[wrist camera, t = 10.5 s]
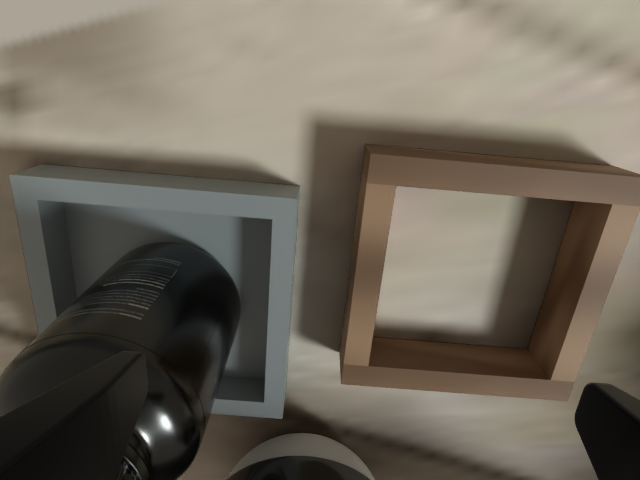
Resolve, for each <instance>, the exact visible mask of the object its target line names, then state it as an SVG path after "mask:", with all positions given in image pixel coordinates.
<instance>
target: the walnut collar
mask: <svg viewBox="0 0 640 480" xmlns="http://www.w3.org/2000/svg"><path fill="white" fill-rule="evenodd" d="M396 186H405V187H417V188H428V189H440V190H452V191H463V192H475V193H487V194H498V195H510V196H522V197H533V198H545V199H557V200H568V201H575V202H574V205H573V209H572V212H571V215H570V218H569V221H568V224H567V227H566V231H565V234H564V237H563V240H562V243H561V246H560V249H559V253H558V256H557V259H556V262H555V265H554V268H553V272H552V275H551V278H550V281H549V284H548V287H547V290H546V294H545V297H544V300H543V303H542V306H541V309H540V313H539V316H538V319H537V322H536V325H535V328H534V331H533V335H532V338H531V341H530V344H529V347H528V349H519V348H506V347H493V346H480V345H468V344H455V343H442V342H429V341H416V340H403V339H391V338H378V337H373V332H374V326H375V319H376V313H377V306H378V300H379V293H380V287H381V280H382V274H383V267H384V261H385V254H386V248H387V242H388V235H389V229H390V222H391V216H392V209H393V203H394V196H395V190H396ZM639 211H640V174H637V173H634V172H631V171H628V170H624V169H621V168H618V167H615V166H610V165H599V164H587V163H576V162H564V161H553V160H542V159H530V158H519V157H507V156H496V155H485V154H473V153H462V152H450V151H439V150H428V149H416V148H405V147H393V146H382V145H371V144H365V149H364V157H363V165H362V173H361V181H360V189H359V198H358V206H357V214H356V222H355V230H354V239H353V247H352V255H351V263H350V271H349V279H348V288H347V296H346V304H345V312H344V320H343V329H342V337H341V345H340V372H341V384H346V385H359V386H373V387H386V388H399V389H412V390H426V391H439V392H452V393H465V394H479V395H492V396H505V397H518V398H532V399H545V400H558V401H568V398H569V396H570V393H571V391H572V388H573V385H574V383H575V380H576V377H577V375H578V372H579V369H580V367H581V364H582V361H583V359H584V356H585V354H586V351H587V348H588V346H589V343H590V340H591V338H592V335H593V332H594V330H595V327H596V325H597V322H598V319H599V317H600V314H601V311H602V309H603V306H604V303H605V301H606V298H607V295H608V293H609V290H610V288H611V285H612V282H613V280H614V277H615V274H616V272H617V269H618V266H619V264H620V261H621V259H622V256H623V253H624V251H625V248H626V245H627V243H628V240H629V237H630V235H631V232H632V229H633V227H634V224H635V222H636V219H637V216H638V214H639Z"/></svg>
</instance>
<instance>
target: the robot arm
mask: <svg viewBox="0 0 640 480" xmlns="http://www.w3.org/2000/svg"><path fill="white" fill-rule="evenodd" d="M147 391H148V379H147V368H146V359H145V355H144V354H143V353H142V352H137V351H121V352H119V353H117V354H116V355H114V356H112V357H110V358H108V359H106V360H104V361H103V362H101V363H99V364H97V365H95V366H93V367H91V368H90V369H88V370H86V371H84V372H82V373H80V374H78V375H77V376H75V377H73V378H71V379H69V380H67V381H65V382H64V383H62V384H60V385H58V386H56V387H54V388H52V389H51V390H49V391H47V392H45V393H43V394H41V395H39V396H38V397H36V398H34V399H32V400H30V401H28V402H26V403H25V404H23V405H21V406H19V407H17V408H15V409H13V410H12V411H10V412H8V413H6V414H4V415H2V416H0V480H113V479H114V477H115V475H116V473H117V471H118V468H119V466H120V463H121V461H122V459H123V456H124V454H125V451H126V448H127V446H128V443H129V441H130V438H131V435H132V433H133V430H134V428H135V425H136V422H137V420H138V417H139V415H140V412H141V409H142V407H143V404H144V402H145V399H146V396H147ZM575 424H576V428H577V430H578V433H579V435H580V437H581V440H582V442H583V444H584V447H585V449H586V451H587V454H588V456H589V458H590V461H591V463H592V465H593V468H594V470H595V472H596V475H597V477H598V479H599V480H640V400H638V399H637V398H635V397H633V396H631V395H629V394H628V393H626V392H624V391H622V390H620V389H619V388H617V387H615V386H613V385H611V384H605V383H588V384H587V385H586V386H585V387H584V390H583V392H582V395H581V398H580V401H579V404H578V407H577V410H576V413H575Z"/></svg>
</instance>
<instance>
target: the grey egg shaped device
mask: <svg viewBox="0 0 640 480" xmlns="http://www.w3.org/2000/svg"><path fill="white" fill-rule="evenodd" d="M226 480H375V479H374V477H373V475H372V474H371V472H370V471H369V469H368V468H367V466H366V465H365V464H364V463H363V461H362V460H361V459H360V458H359V457H358V456H357V455H356V454H355V453H354V452H352V451H351V450H350V449H349V448H347V447H346V446H344V445H343V444H341V443H339V442H337V441H335V440H333V439H330V438H328V437H325V436H321V435H317V434H311V433H291V434H285V435H281V436H277V437H274V438H272V439H269V440H267V441H265V442H263V443H261V444H259V445H258V446H256V447H255V448H253V449H252V450H251V451H250V452H248V453H247V454H246V455H245V456H244V457H243V458H242V459H241V460H240V461H239V462H238V463H237V464H236V466H235V467H234V468H233V470H232V471H231V472H230V474H229V476H228V477H227V479H226Z"/></svg>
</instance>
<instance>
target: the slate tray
mask: <svg viewBox="0 0 640 480" xmlns="http://www.w3.org/2000/svg"><path fill="white" fill-rule="evenodd" d="M9 178H10V183H11V189H12V194H13V199H14V205H15V210H16V215H17V221H18V226H19V231H20V236H21V242H22V247H23V252H24V258H25V263H26V268H27V274H28V279H29V284H30V290H31V295H32V300H33V306H34V311H35V316H36V322H37V327H38V332H39V334H40V333H42V332H43V331H44V330H45V329H46V328H47V327H48V326H49V325H50V324H51V323H52V322H53V321H54V320H55V319H56V318H57V317H58V316H59V315H60V314H61V313H63V312H64V311H65V310H66V309H67V308H68V307H69V306H70V305H71V304H72V303H73V302H74V301H75V300H76V299H77V298H78V297H79V296H80V295H81V294H82V293H84V292H85V291H86V290H87V289H88V288H89V287H90V286H91V285H92V284H93V283H94V282H95V281H96V280H97V279H98V278H99V277H100V276H101V275H102V274H103V273H105V272H106V271H107V270H108V269H109V268H110V267H111V266H112V265H113V264H114V263H115V262H117V261H118V260H119V259H120V258H121V257H122V256H124V255H125V254H127V253H128V252H130V251H131V250H133V249H135V248H138V247H140V246H143V245H147V244H151V243H157V242H174V243H180V244H185V245H189V246H192V247H194V248H197V249H199V250H201V251H203V252H205V253H207V254H208V255H210V256H211V257H213V258H214V259H215V260H217V261H218V262H219V263H220V264H221V265H222V266H223V267H224V268H225V269H226V270H227V272H228V273H229V274H230V276H231V277H232V279H233V281H234V283H235V285H236V287H237V290H238V293H239V297H240V302H241V314H240V320H239V324H238V328H237V332H236V335H235V338H234V341H233V344H232V347H231V351H230V354H229V357H228V360H227V363H226V366H225V370H224V373H223V376H222V379H221V382H220V385H219V388H218V392H217V395H216V398H215V401H214V404H213V407H212V410H211V414H221V415H235V416H248V417H262V418H275V419H282V418H283V410H284V402H285V394H286V382H287V367H288V353H289V339H290V324H291V310H292V295H293V281H294V266H295V252H296V237H297V223H298V208H299V194H300V186H293V185H281V184H269V183H258V182H246V181H234V180H223V179H211V178H199V177H187V176H176V175H164V174H152V173H140V172H129V171H117V170H105V169H94V168H82V167H70V166H58V165H47V164H41V165H37V166H34V167H31V168H28V169H25V170H22V171H19V172H15V173H12V174H9Z"/></svg>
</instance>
